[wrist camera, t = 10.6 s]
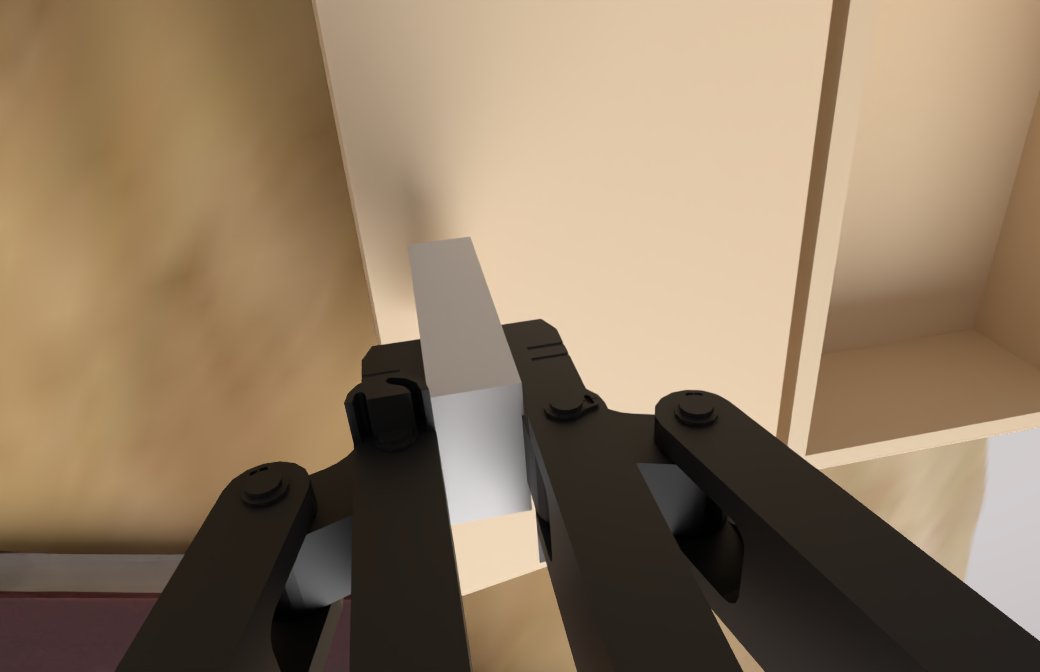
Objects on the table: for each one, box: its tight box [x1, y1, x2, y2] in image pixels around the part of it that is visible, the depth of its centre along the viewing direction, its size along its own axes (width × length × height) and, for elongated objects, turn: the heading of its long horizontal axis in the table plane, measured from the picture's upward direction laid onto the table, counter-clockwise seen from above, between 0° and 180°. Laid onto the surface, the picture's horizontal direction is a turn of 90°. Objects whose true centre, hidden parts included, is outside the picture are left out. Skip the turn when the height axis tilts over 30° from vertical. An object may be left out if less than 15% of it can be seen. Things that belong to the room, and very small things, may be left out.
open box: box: [776, 0, 1040, 469], centre depth 26 cm, size 22×14×7 cm, turn 4°
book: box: [0, 551, 351, 672], centre depth 34 cm, size 12×19×3 cm, turn 79°
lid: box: [311, 0, 833, 596], centre depth 20 cm, size 23×13×1 cm, turn 4°
